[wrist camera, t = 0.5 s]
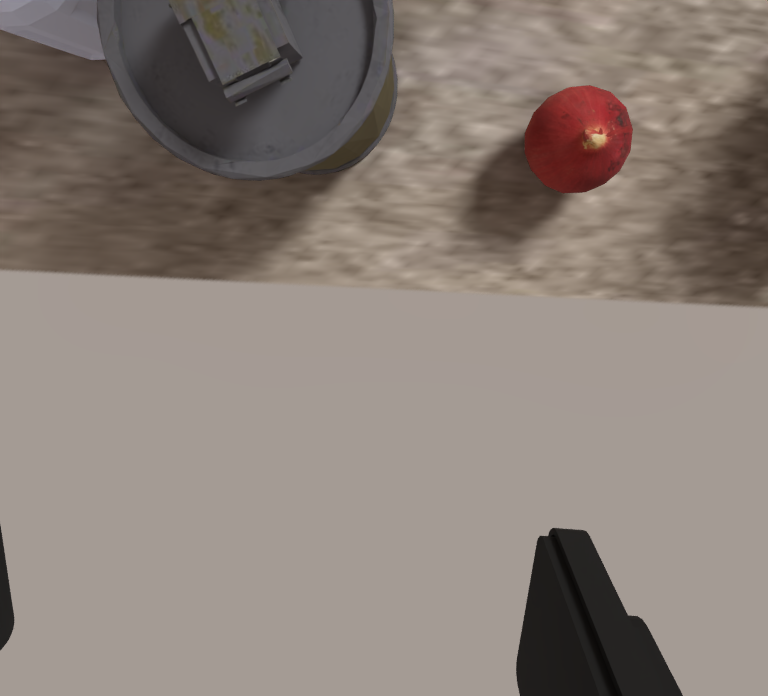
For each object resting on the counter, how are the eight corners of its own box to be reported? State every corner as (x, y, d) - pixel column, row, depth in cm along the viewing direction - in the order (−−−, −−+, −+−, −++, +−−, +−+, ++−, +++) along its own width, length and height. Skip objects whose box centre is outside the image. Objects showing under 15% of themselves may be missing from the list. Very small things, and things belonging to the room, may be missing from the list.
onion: (590, 77, 37) (639, 53, 29) (619, 166, 38) (674, 166, 31) (501, 119, 38) (526, 107, 30) (533, 205, 39) (565, 214, 32)
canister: (422, 133, 38) (444, 101, 19) (275, 200, 40) (157, 232, 20) (352, -47, 35) (295, -298, 16) (197, 32, 37) (-24, -113, 18)
